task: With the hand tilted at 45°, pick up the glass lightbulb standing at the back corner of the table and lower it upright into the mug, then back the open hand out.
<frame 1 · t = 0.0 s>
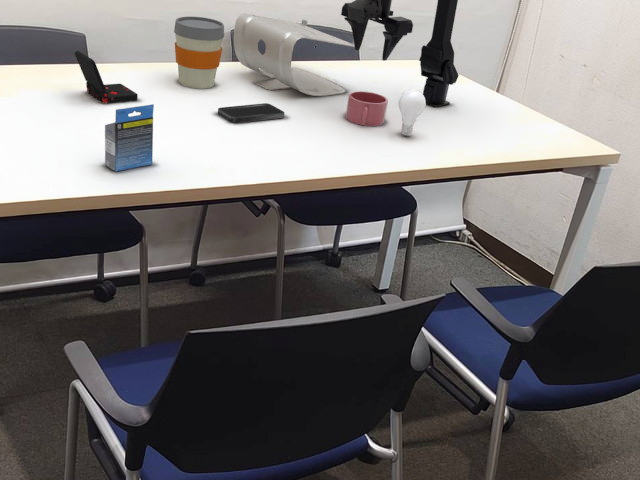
hand: (370, 55, 212), 15 cm above the table, tool pointing down, fingers open, 9 cm apart
beige plastic curved shell: (291, 83, 237), on the table
mug: (364, 119, 218), on the table
reusable coffee cup: (196, 84, 227), on the table
lightbulb: (405, 136, 211), on the table
phone: (251, 116, 210), on the table
blue upright rectangular box: (128, 166, 175), on the table
handheld gaming console: (106, 97, 209), on the table
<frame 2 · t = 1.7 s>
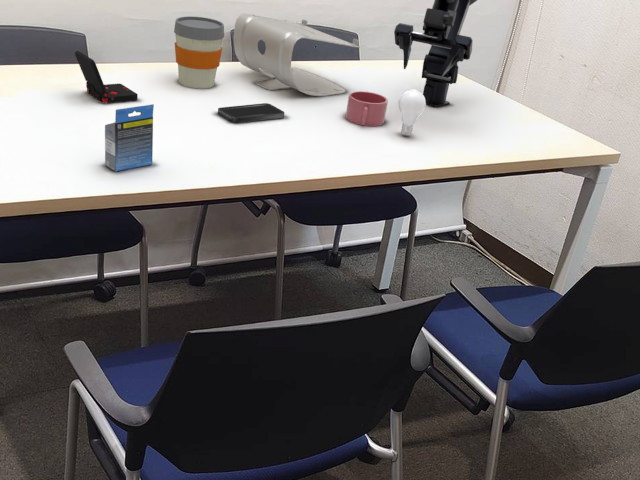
hand: (422, 72, 210), 13 cm above the table, tool tilted 45°, fingers open, 9 cm apart
nothing on the table moved.
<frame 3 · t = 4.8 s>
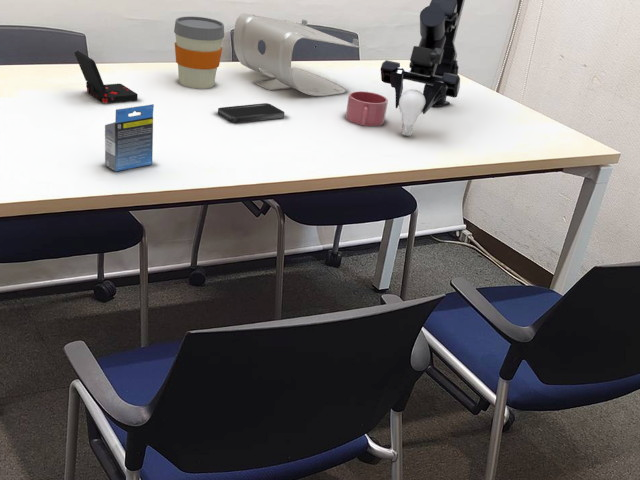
hand: (409, 110, 206), 7 cm above the table, tool tilted 45°, fingers closed on lightbulb, 6 cm apart
lightbulb: (405, 136, 211), on the table, touching gripper
everything else where it was.
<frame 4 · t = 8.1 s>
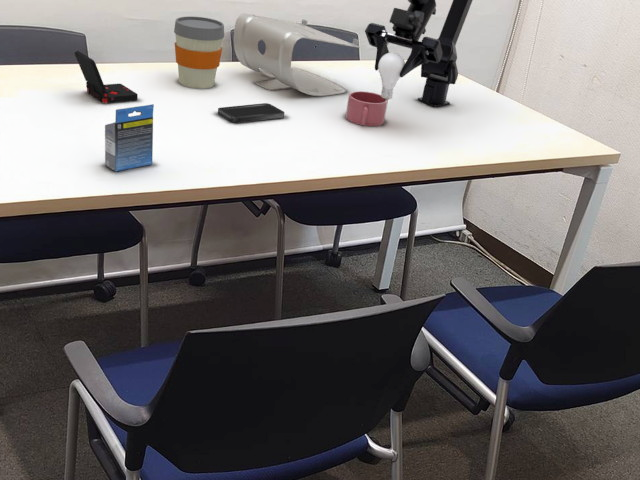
hand: (387, 72, 206), 13 cm above the table, tool tilted 45°, fingers closed on lightbulb, 6 cm apart
lightbulb: (385, 100, 211), point 6 cm above the table, touching gripper
everything else where it was.
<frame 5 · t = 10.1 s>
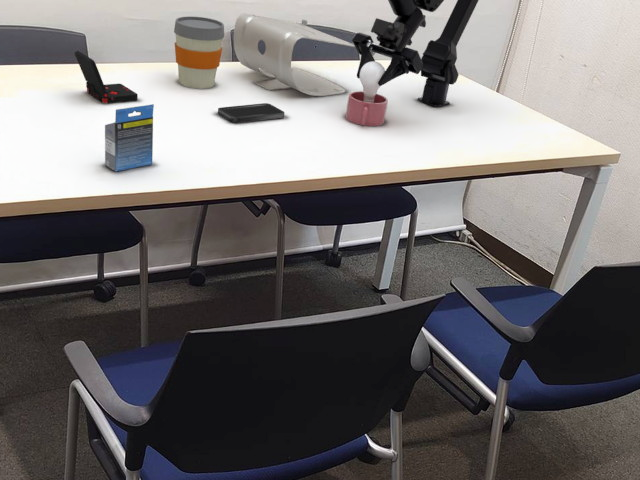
hand: (368, 81, 212), 10 cm above the table, tool tilted 45°, fingers closed on lightbulb, 6 cm apart
lightbulb: (367, 108, 216), point 3 cm above the table, touching gripper
everything else where it was.
when the fingers open (7 cm above the table, at t = 11.4 s): lightbulb stays where it is, resting on mug.
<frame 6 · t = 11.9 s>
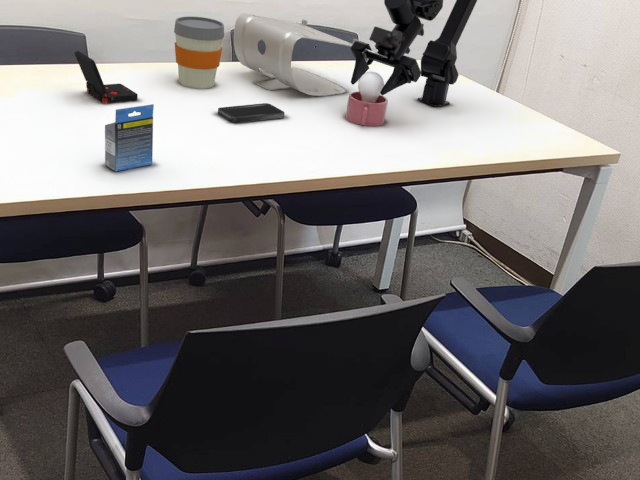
hand: (366, 88, 213), 8 cm above the table, tool tilted 45°, fingers open, 9 cm apart
lightbulb: (365, 117, 218), resting on mug
everything else where it was.
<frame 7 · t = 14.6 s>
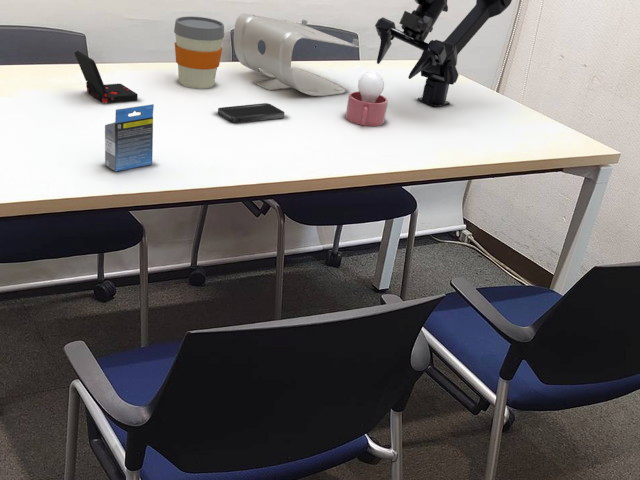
hand: (393, 70, 218), 11 cm above the table, tool tilted 40°, fingers open, 9 cm apart
nothing on the table moved.
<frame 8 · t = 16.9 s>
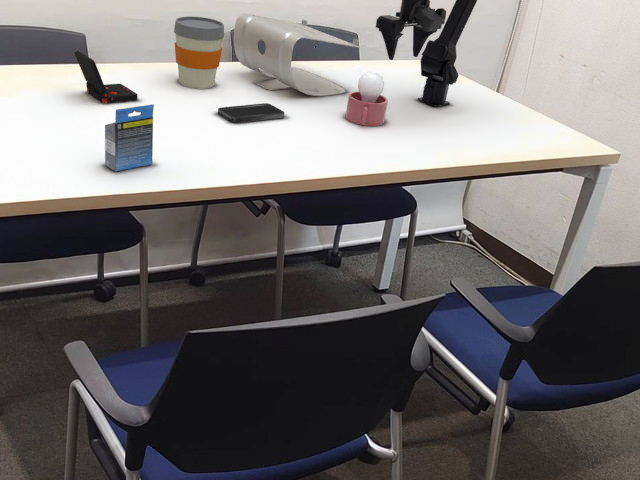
hand: (403, 58, 221), 13 cm above the table, tool pointing down, fingers open, 9 cm apart
nothing on the table moved.
at the end: lightbulb 0.3 cm off-centre in the mug, point 0.4 cm above the mug's base; lightbulb tilted 0°; the gripper is holding nothing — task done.
